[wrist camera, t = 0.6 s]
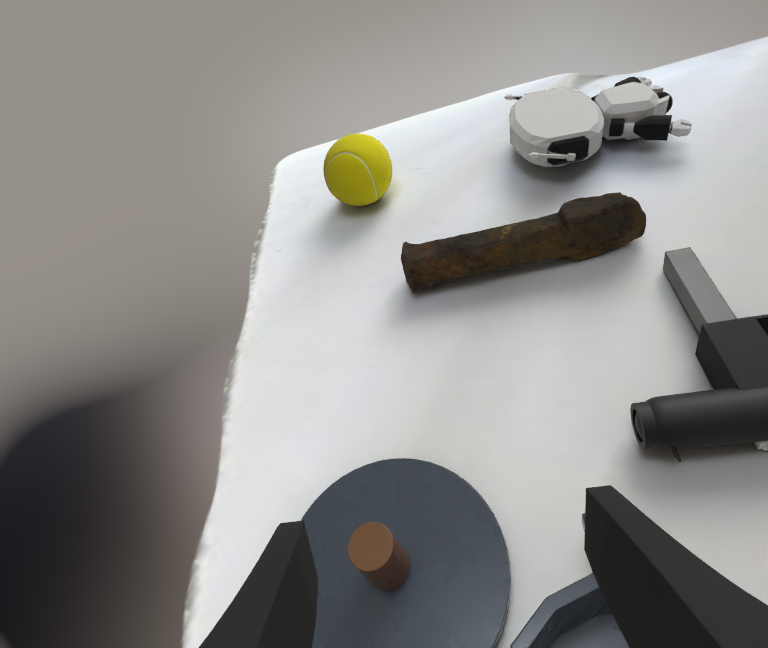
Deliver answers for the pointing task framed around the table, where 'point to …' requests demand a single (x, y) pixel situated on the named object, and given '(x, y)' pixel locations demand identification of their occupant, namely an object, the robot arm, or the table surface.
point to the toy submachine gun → (711, 372)
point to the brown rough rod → (528, 241)
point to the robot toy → (589, 120)
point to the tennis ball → (357, 170)
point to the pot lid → (407, 560)
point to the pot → (572, 619)
